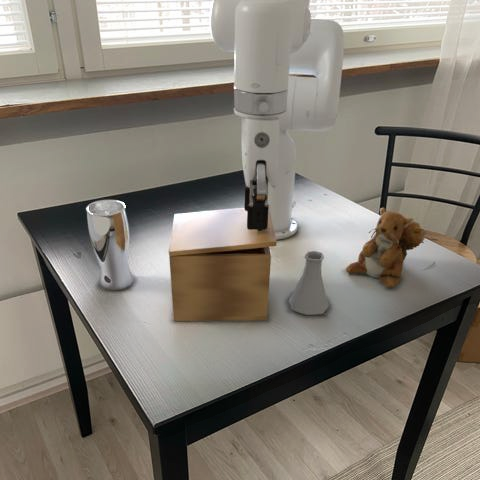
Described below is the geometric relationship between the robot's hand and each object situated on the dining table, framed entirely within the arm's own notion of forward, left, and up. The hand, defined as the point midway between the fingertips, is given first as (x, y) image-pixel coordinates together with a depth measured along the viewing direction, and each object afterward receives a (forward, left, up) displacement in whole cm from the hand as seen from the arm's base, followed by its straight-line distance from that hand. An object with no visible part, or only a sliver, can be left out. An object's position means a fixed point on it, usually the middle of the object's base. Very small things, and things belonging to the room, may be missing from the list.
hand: (255, 218), depth 81 cm
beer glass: (+9, -24, -16) cm, 30 cm away
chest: (+3, -5, -16) cm, 17 cm away
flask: (-3, +10, -16) cm, 19 cm away
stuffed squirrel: (-22, +18, -16) cm, 33 cm away
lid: (+3, -5, -2) cm, 6 cm away
